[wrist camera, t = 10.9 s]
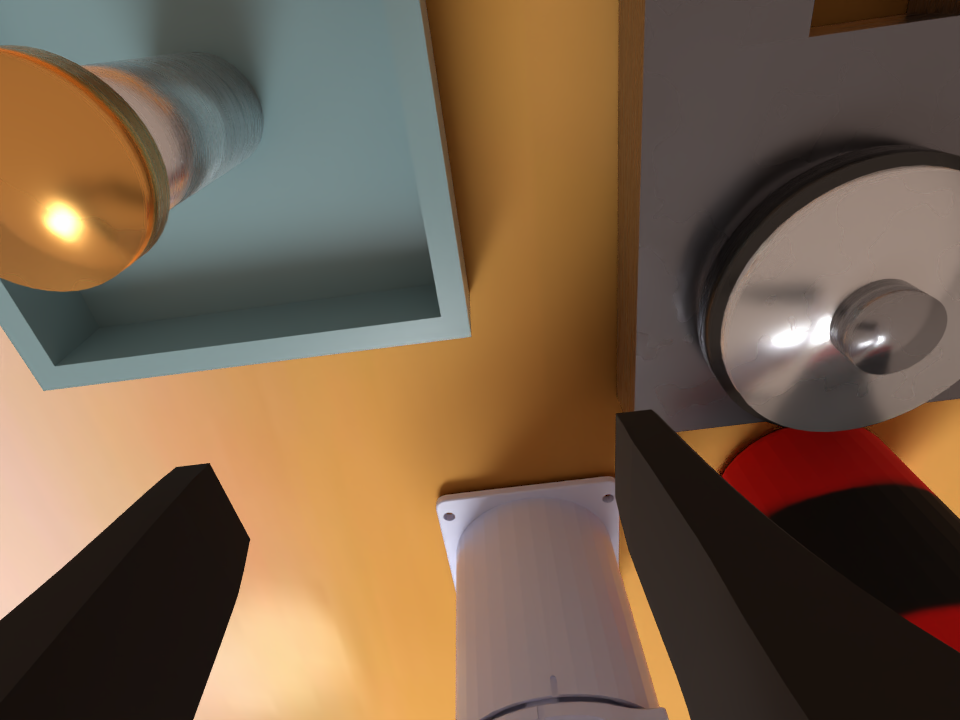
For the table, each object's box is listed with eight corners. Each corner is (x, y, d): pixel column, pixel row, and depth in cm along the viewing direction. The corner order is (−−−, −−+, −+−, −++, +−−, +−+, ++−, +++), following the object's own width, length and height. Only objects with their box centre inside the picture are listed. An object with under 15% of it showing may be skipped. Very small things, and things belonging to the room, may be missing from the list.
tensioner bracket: (925, 359, 22) (1054, 453, 17) (616, 396, 22) (659, 498, 17) (1168, -334, 12) (1614, -555, 7) (620, -243, 13) (715, -399, 8)
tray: (469, 295, 19) (471, 336, 17) (96, 343, 20) (43, 390, 17) (387, -256, 12) (368, -327, 10) (-189, -159, 13) (-348, -202, 10)
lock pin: (294, 171, 17) (179, 277, 10) (171, 187, 17) (-26, 303, 10) (252, 25, 15) (72, 29, 8) (113, 44, 15) (-183, 66, 8)
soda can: (914, 472, 25) (1233, 789, 15) (771, 560, 28) (954, 877, 17) (822, 384, 22) (1136, 699, 12) (675, 493, 25) (823, 820, 15)
